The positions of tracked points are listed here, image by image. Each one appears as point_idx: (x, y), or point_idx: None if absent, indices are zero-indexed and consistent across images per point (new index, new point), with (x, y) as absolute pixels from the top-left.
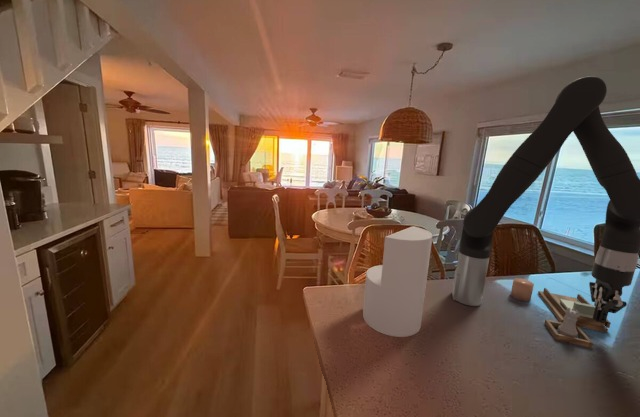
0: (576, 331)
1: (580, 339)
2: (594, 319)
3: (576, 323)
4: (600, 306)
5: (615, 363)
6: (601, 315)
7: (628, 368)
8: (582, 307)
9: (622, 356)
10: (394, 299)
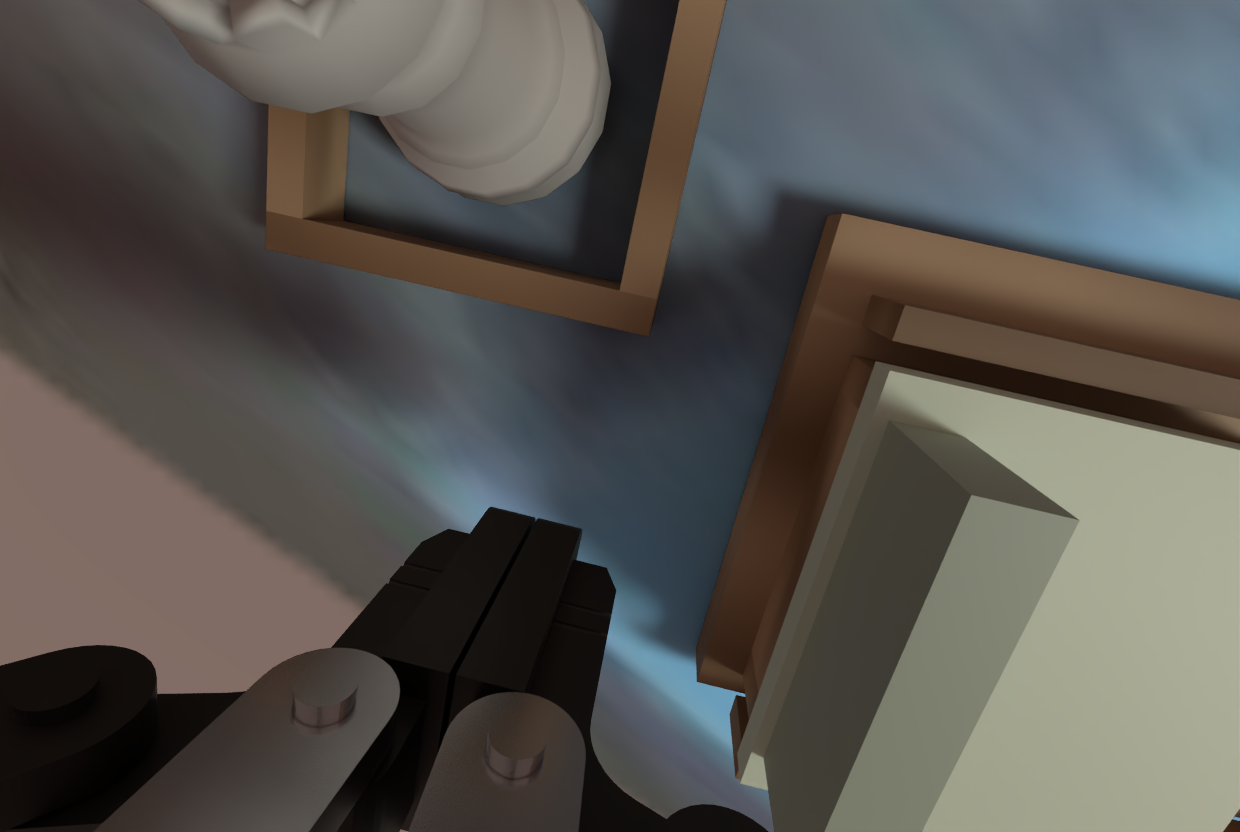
0: (431, 161)
1: (288, 118)
2: (522, 514)
3: (783, 398)
4: (197, 748)
5: (123, 313)
6: (375, 616)
7: (97, 383)
8: (894, 578)
9: (284, 476)
10: None
